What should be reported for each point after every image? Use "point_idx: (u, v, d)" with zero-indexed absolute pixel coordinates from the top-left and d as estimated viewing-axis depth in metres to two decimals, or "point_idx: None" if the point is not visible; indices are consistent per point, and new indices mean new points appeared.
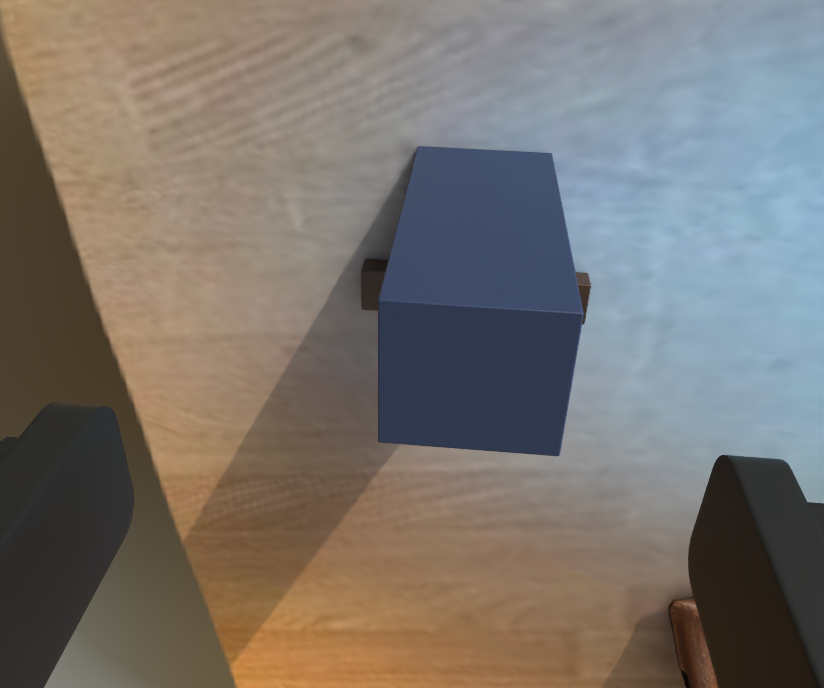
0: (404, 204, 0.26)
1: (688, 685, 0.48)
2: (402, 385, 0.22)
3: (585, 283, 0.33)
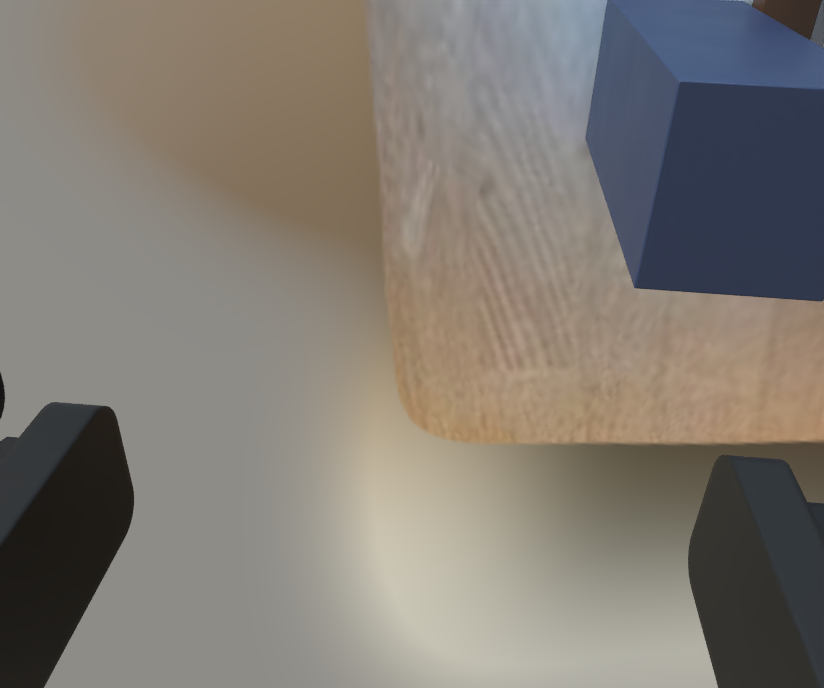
0: (604, 194, 0.26)
1: None
2: (745, 272, 0.20)
3: None
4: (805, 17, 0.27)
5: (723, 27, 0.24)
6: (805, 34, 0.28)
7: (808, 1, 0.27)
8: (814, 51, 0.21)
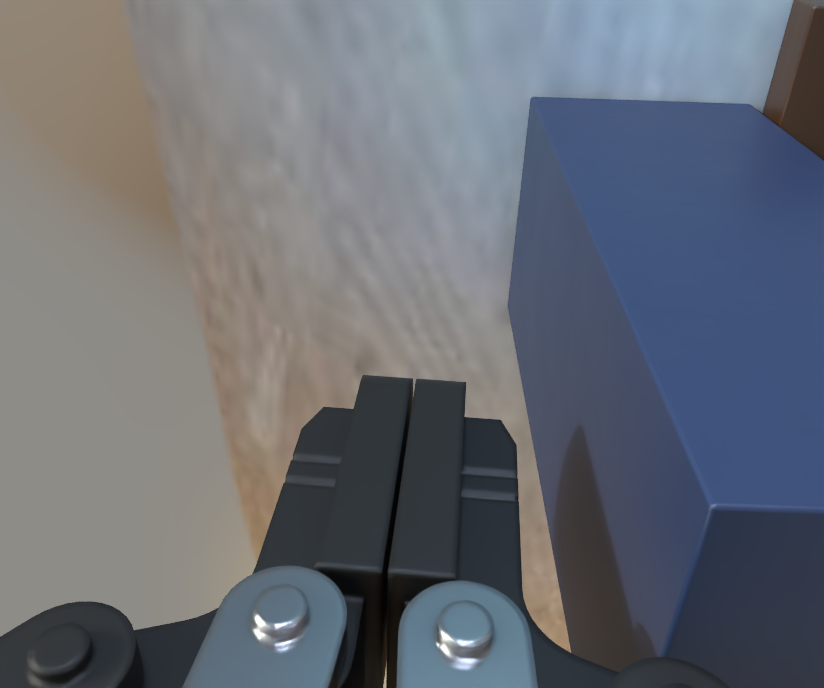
0: None
1: None
2: None
3: (807, 16, 0.15)
4: None
5: (743, 194, 0.12)
6: None
7: None
8: None
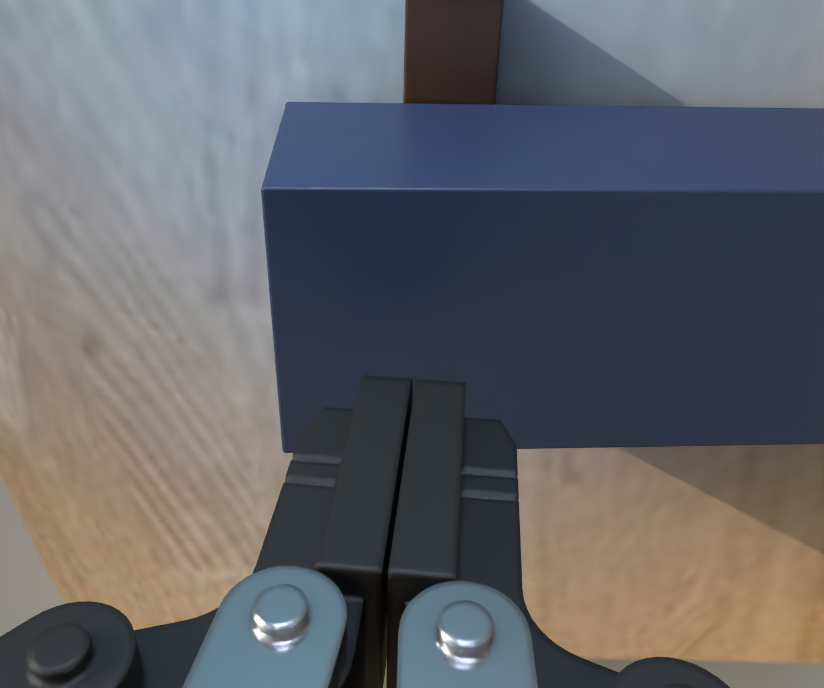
0: (597, 446, 0.15)
1: None
2: None
3: None
4: None
5: (576, 135, 0.15)
6: None
7: (473, 90, 0.16)
8: (694, 112, 0.16)
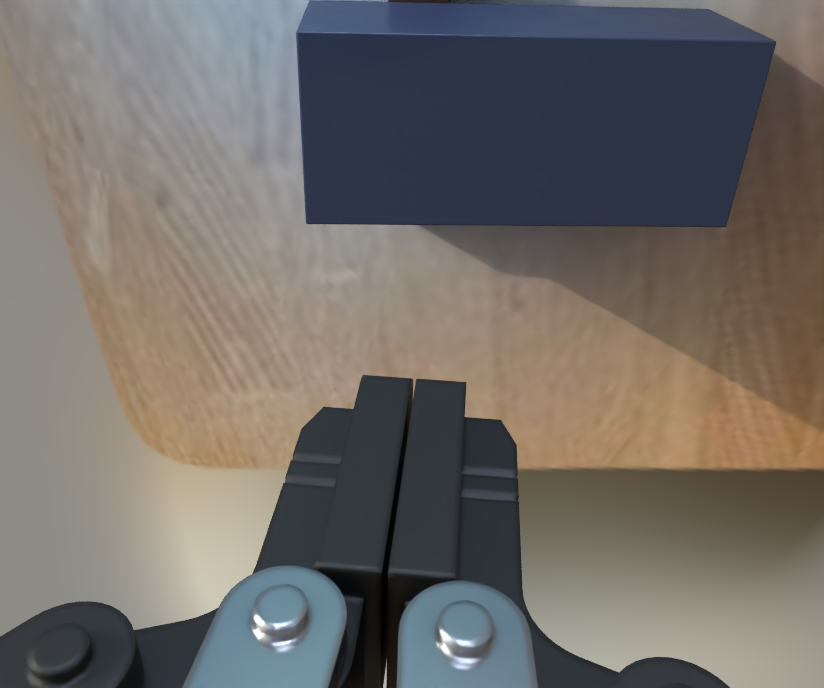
0: (512, 224, 0.23)
1: None
2: None
3: None
4: None
5: (498, 16, 0.23)
6: None
7: None
8: (584, 8, 0.24)
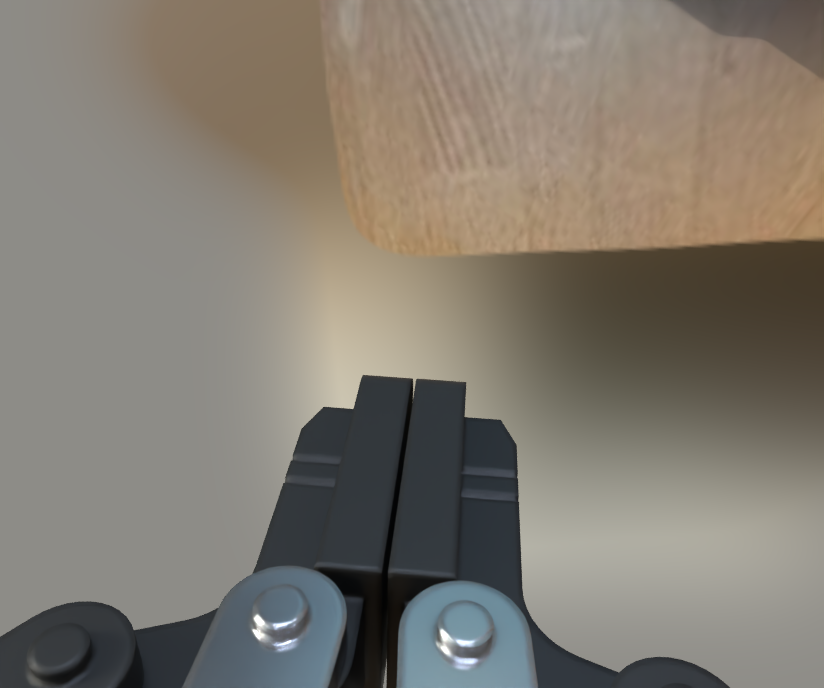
0: None
1: None
2: None
3: None
4: None
5: None
6: None
7: None
8: None
